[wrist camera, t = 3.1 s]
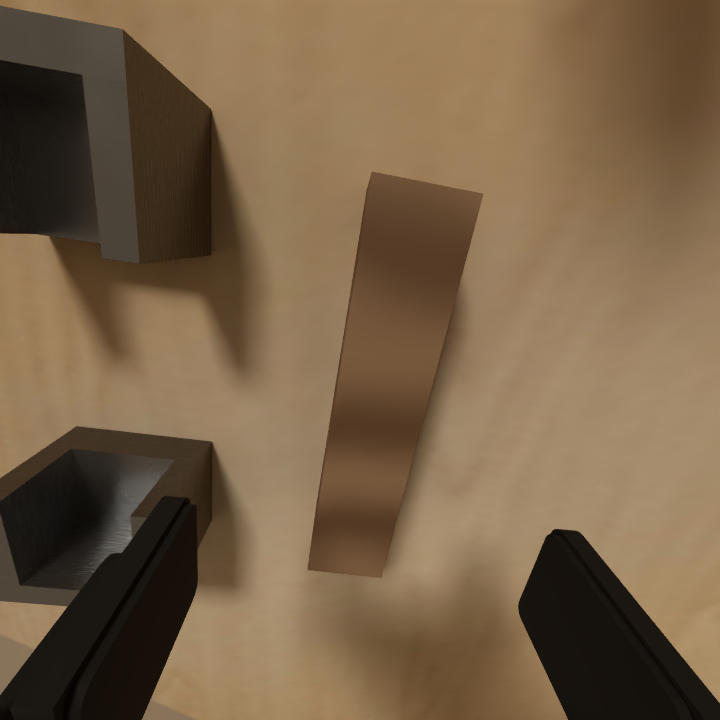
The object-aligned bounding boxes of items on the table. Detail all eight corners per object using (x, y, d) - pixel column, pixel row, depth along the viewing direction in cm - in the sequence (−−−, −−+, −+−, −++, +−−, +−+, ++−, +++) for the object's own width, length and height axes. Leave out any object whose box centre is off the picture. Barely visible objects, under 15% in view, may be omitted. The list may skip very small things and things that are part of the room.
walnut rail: (366, 190, 16) (371, 171, 12) (446, 206, 17) (483, 193, 12) (317, 500, 23) (307, 569, 18) (375, 508, 23) (381, 577, 18)
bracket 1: (20, 75, 14) (-197, -31, 9) (210, 108, 15) (122, 28, 9) (45, 230, 16) (-118, 226, 11) (211, 255, 17) (139, 263, 11)
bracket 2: (211, 520, 23) (164, 614, 17) (89, 508, 22) (-2, 600, 16) (211, 441, 21) (157, 519, 15) (76, 426, 20) (-33, 500, 14)
